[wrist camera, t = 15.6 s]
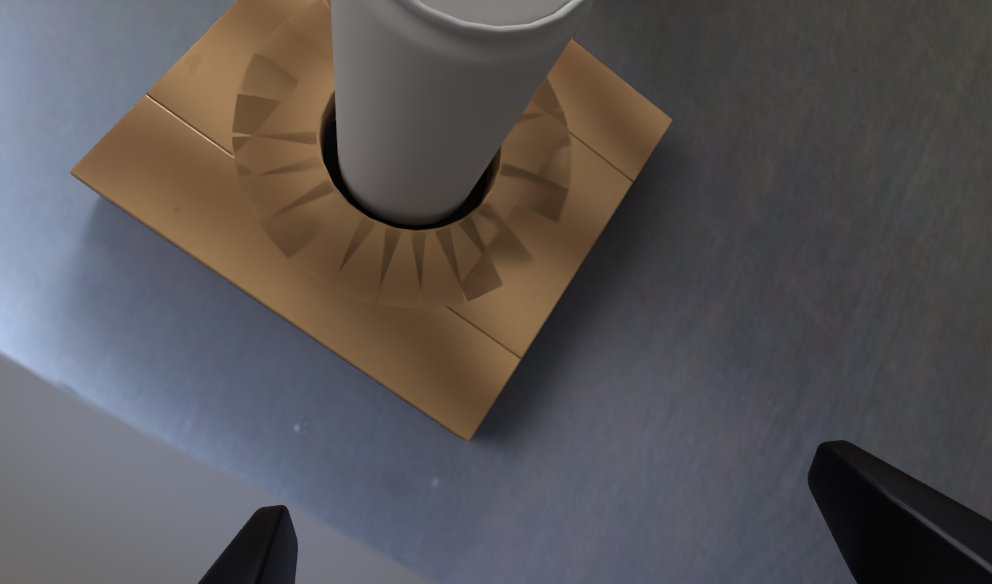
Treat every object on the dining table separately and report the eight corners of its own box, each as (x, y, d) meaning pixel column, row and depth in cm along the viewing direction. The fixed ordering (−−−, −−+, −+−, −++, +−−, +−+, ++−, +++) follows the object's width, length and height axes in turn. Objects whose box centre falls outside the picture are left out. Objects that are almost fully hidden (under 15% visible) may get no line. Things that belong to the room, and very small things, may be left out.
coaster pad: (457, 436, 20) (469, 443, 18) (97, 193, 18) (67, 171, 16) (646, 140, 23) (673, 119, 21) (362, -85, 22) (364, -130, 20)
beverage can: (491, 208, 21) (660, 7, 10) (367, 249, 20) (392, 72, 8) (444, 90, 21) (556, -244, 10) (318, 123, 20) (277, -222, 8)
